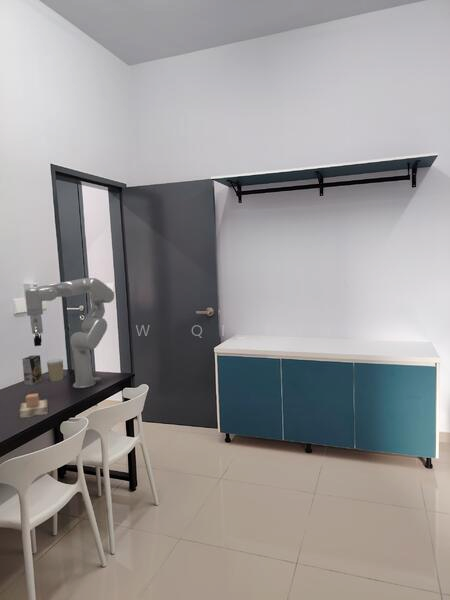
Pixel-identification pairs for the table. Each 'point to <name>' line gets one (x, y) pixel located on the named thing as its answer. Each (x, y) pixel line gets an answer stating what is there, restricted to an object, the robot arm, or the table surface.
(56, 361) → the coffee cup
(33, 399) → the terracotta cube
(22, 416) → the birch block
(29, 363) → the coffee box
